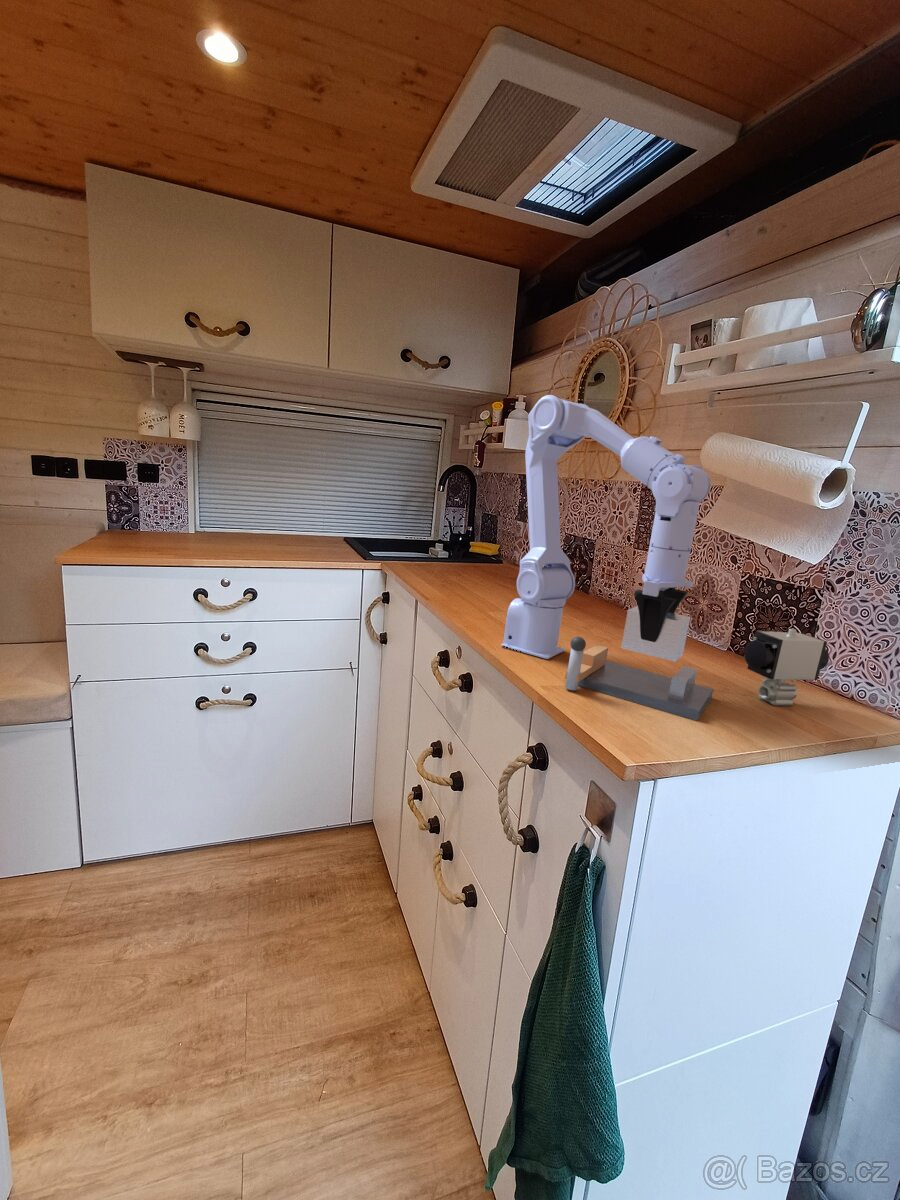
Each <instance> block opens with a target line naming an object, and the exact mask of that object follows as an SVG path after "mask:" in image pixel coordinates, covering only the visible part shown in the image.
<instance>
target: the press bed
mask: <svg viewBox="0 0 900 1200" xmlns="http://www.w3.org/2000/svg"><path fill="white" fill-rule="evenodd" d="M697 672H698V668H695V667H694V668H693V667H690V666H686V665H683V666H681V668H680V669H679V670H678V671H676V673H675V674H674V675H673V676H672V677H671V676H670V677H669V676H665V675H661V674H658V673H654V672H650V671H647V670H642V669H639V668H636V667H631V666H628V665H624V664H620V663H617V662H614V661H610V660H606V664H605V665H604V666H602V667H601V668H599V669H598V670H596V671H594V672H593V673H591V674H590V675H588V676H587V677H585V678H584V679H582V680H581V681H579V682H578V687H582V688H585V689H588V690H591V691H595V692H599V693H602V694H605V695H609V696H612V697H616V698H619V699H622V700H626V701H629V702H632V703H636V704H640V705H643V706H646V707H649V708H653V709H656V710H660V711H661V712H667V713H669V714H672V715H676V716H680V717H683V718H685V719H690V720H693V721H696V722H698V720H699V719H700V717H702V714H703V712H704V711H705V710H706V708H707V706H708V704H709V703H710V701H711V700H712V698H713V692H714V688H711V687H707V686H704V685H699V684H695V681H696V677H697Z"/></svg>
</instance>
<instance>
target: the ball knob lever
mask: <svg viewBox="0 0 900 1200" xmlns="http://www.w3.org/2000/svg"><path fill="white" fill-rule="evenodd" d="M586 642H587V641H586V640H585V639H584V637H581V636H575V637H573V638H572V639H571V640H570V654H569V658H568V659H569V660H568V667H567V670H566V671H565V676H564V679H565V685H564V687H565V689H566V690H569V691H577V690H578V687H579V686H578V682H579V681H581V680H582V679H584V678H585V677H587V676H588V675H590V674H591V673H593V672H594V671H596V670H598V669H599V668H601V667H602V666H604V665H605V664H606V661H607V658H608V651H609V647H607V646H604V645H600V644H595V645H594V646H592V647H589V648H588V649H586V646H587V644H586ZM585 649H586V650H585Z"/></svg>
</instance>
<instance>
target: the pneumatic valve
mask: <svg viewBox="0 0 900 1200" xmlns="http://www.w3.org/2000/svg"><path fill="white" fill-rule="evenodd" d="M827 644H828V641H827V640H823V639H821V638H817V637H815V636H811V635H809V634H805V633H803V632H797V629H796V628H788V632H786V631H785V632H782V631H762V630H761V631H760V630H759V631H755V634H754V637H753V638H752V640H751V641H749V642H748V643H747V645H746V646H745V648H744V660H745V662H746V664H747V669H748V670H749V671H752V672H754V673H755V674H758V675H760V676H763V677H764V678H763V679H762V680H761V685H760V686H759V688H758V698H759V699H760V700H763V701H765V702H768V703H770V705H772V706H774V707H779V706H780V707H792V706H793V705H794V701H793V700H794V699H796V697H797V696H798V692H797V691H798V686H797V685H796V684H790V683H789V682H787V681H791V682H793V683H795V682H796V681H797V680H800V681H801V680H802V681H806V680H807V681H817V680H818V679H819V675H820V674H821V670H823V669H825V668H826V667H827V665H828V664H829V660H830V655H829V650H828V649H827Z"/></svg>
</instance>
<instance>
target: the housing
mask: <svg viewBox="0 0 900 1200" xmlns="http://www.w3.org/2000/svg"><path fill="white" fill-rule="evenodd" d="M690 622H691V617H690V616H686V615H682V614H677V613H674V614H673V613H667V615H666V617H665V620H664V622H663V625H662V628H661V631H660V634H659V636H658V638H657V640H656V642H651V641H647V640H643V639H641V635H640V616H639V609H638V605H636V606H634V607H632V608H630V609H627V613H626V619H625V624H624V628H623V629H624V630H623V636H622V642H621V648H620V649H623V650H627V651H631V652H634V653H638V654H643V655H646V656H650V657H656V658H659V659H663V660H667V661H671V662H674V663H676V662H677V661H678V660H679V659H681V657H683V655H684V651H685V645H686V640H687V637H688V632H689V631H688V630H689V627H690V626H689V625H690Z"/></svg>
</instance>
